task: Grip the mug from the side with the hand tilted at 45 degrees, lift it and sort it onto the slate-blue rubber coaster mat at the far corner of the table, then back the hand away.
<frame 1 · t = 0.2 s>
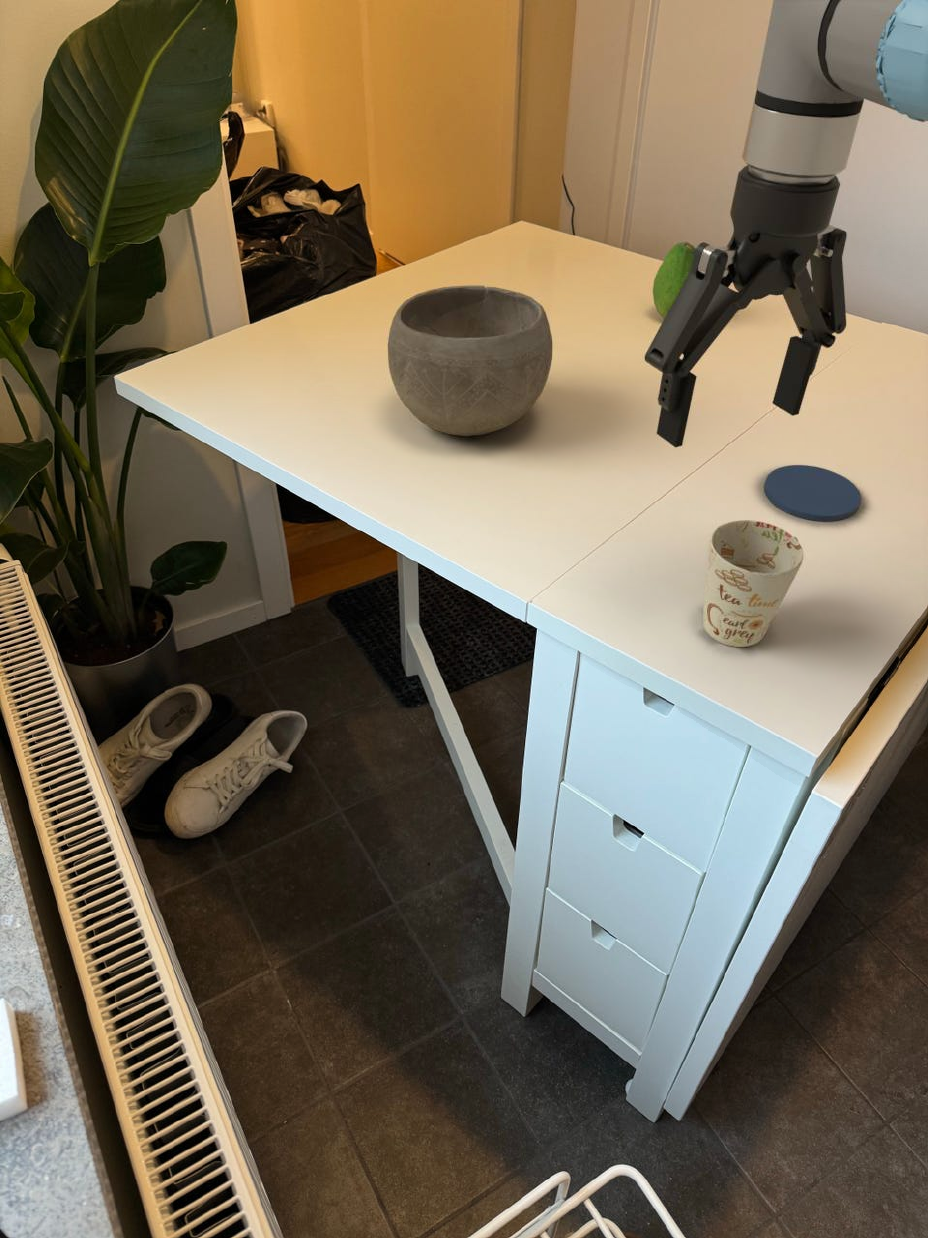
hand: (728, 424, 81), 19 cm above the table, tool pointing down, fingers open, 13 cm apart
mug: (744, 619, 89), on the table
bowl: (468, 420, 119), on the table
coaster: (811, 494, 106), on the table
fruit: (673, 319, 145), on the table
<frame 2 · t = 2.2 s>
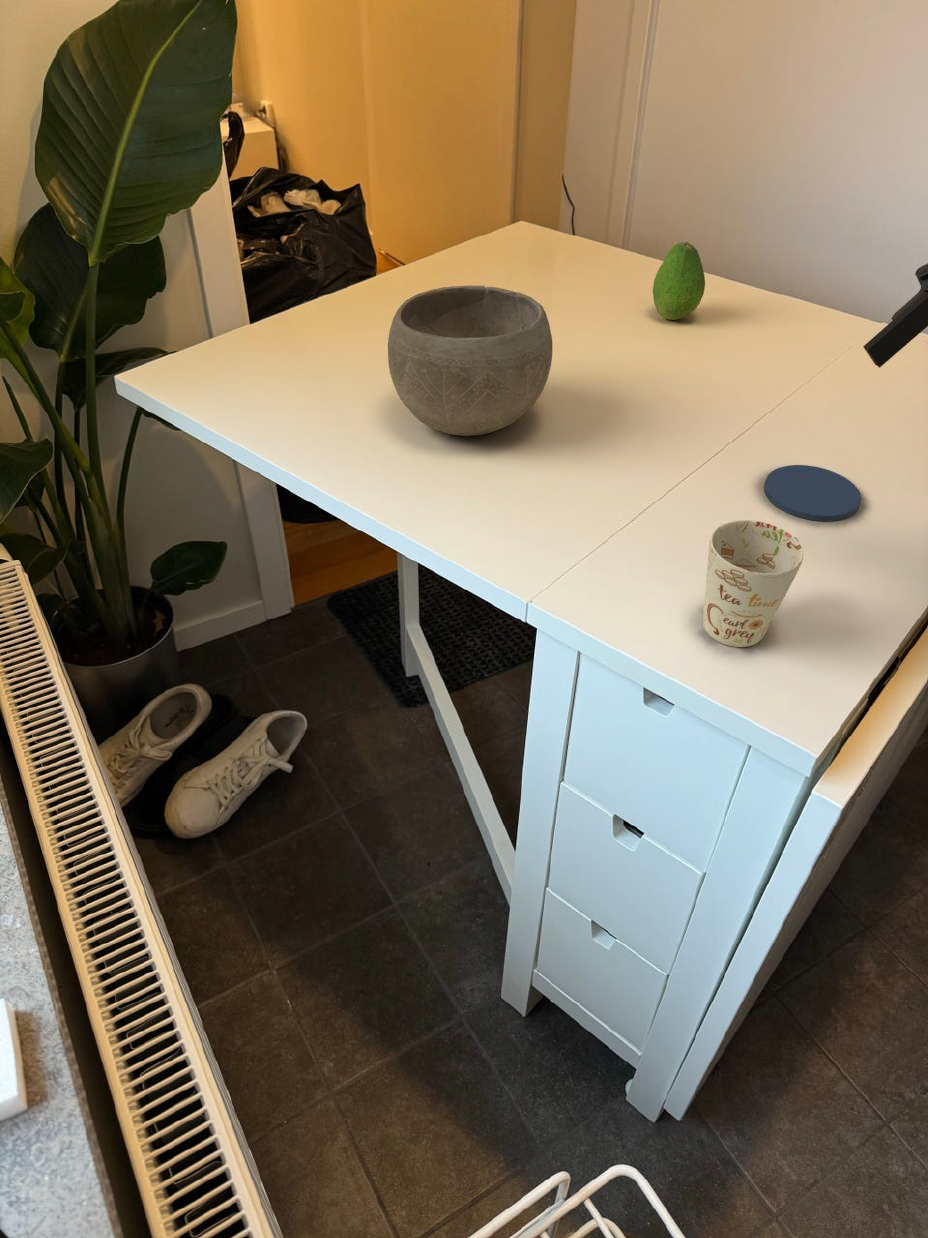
hand: (917, 392, 76), 24 cm above the table, tool tilted 45°, fingers open, 13 cm apart
nothing on the table moved.
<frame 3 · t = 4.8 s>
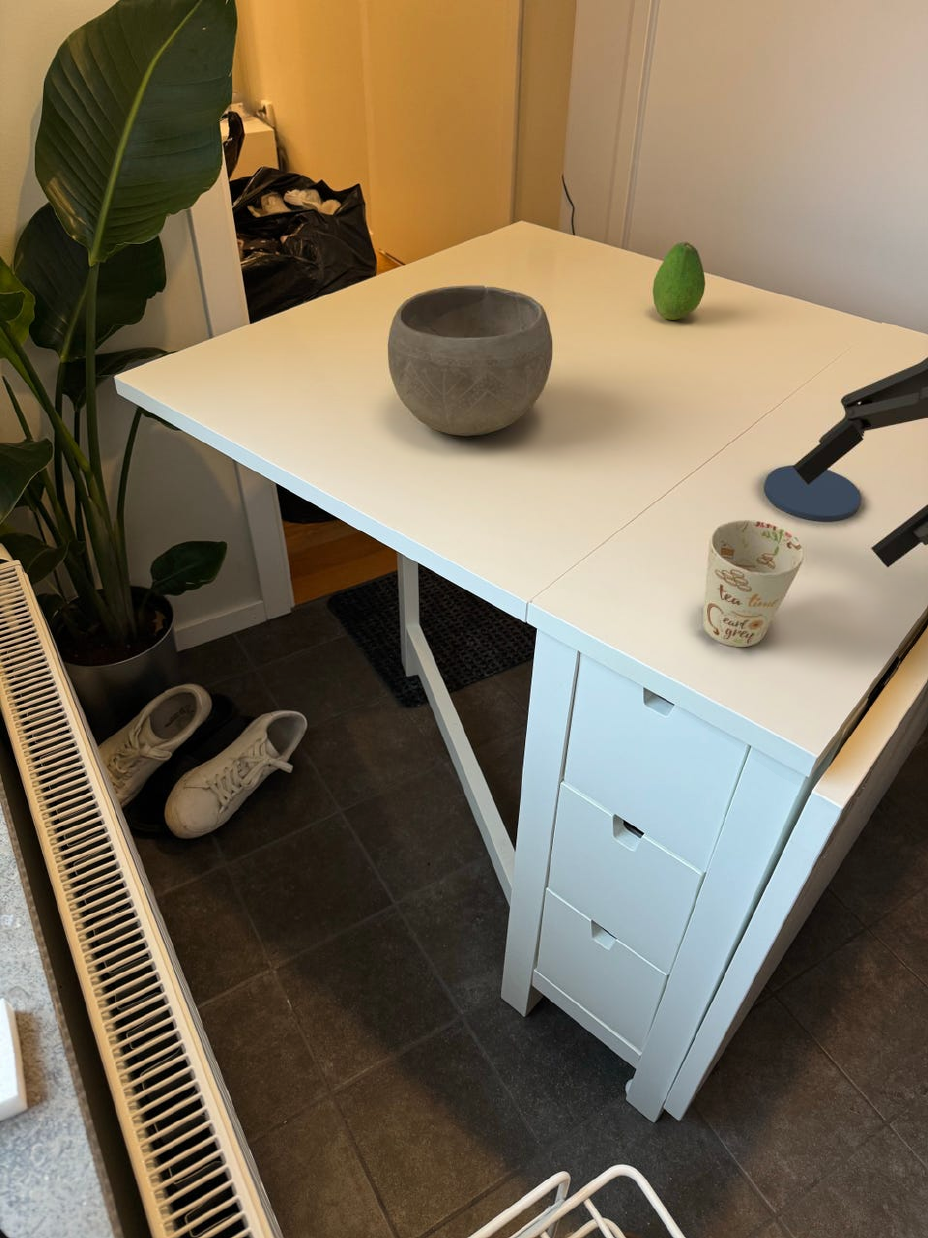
hand: (837, 514, 83), 11 cm above the table, tool tilted 45°, fingers open, 13 cm apart
nothing on the table moved.
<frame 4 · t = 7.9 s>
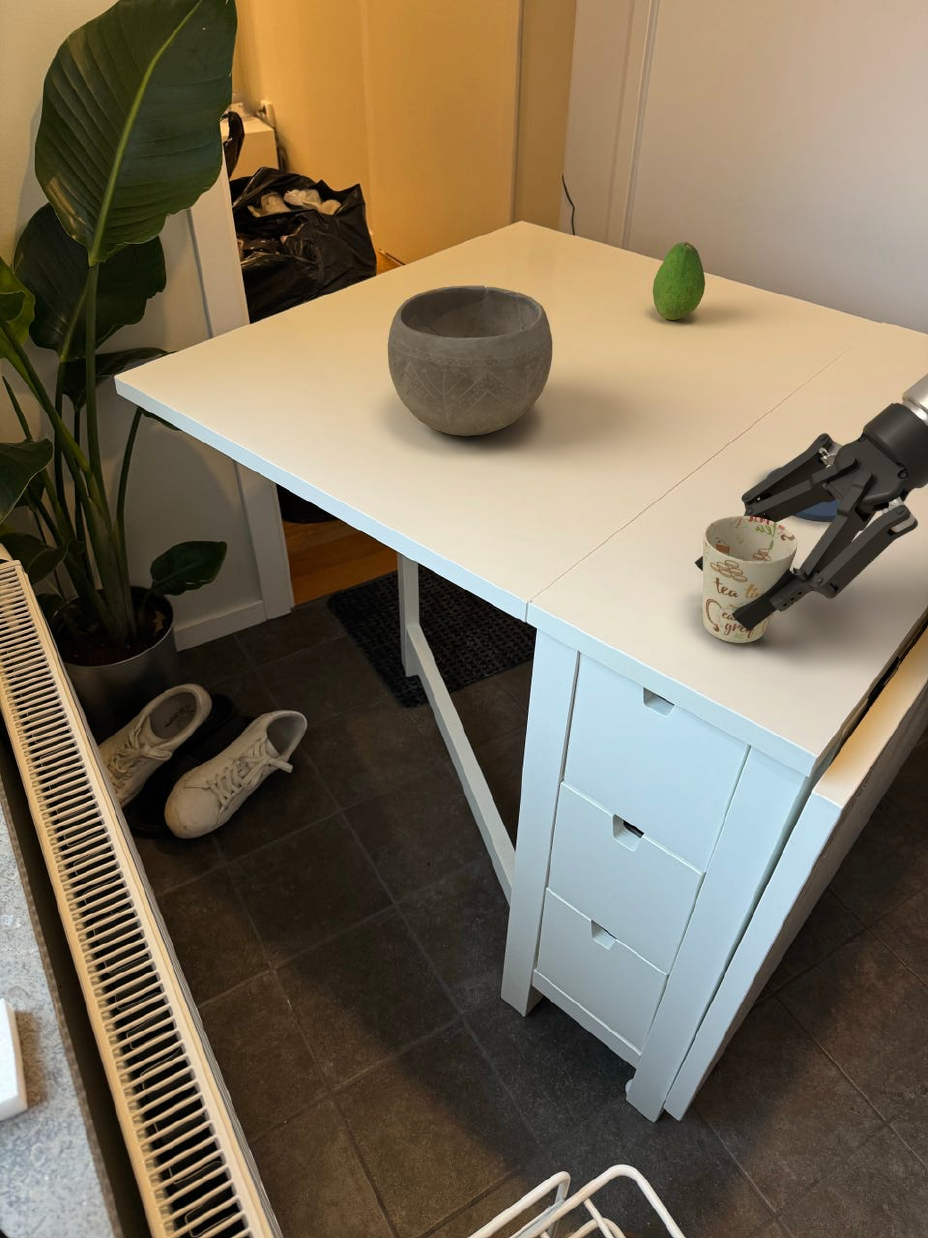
hand: (721, 595, 86), 4 cm above the table, tool tilted 45°, fingers closed on mug, 7 cm apart
mug: (745, 617, 89), on the table, touching gripper
everything else where it was.
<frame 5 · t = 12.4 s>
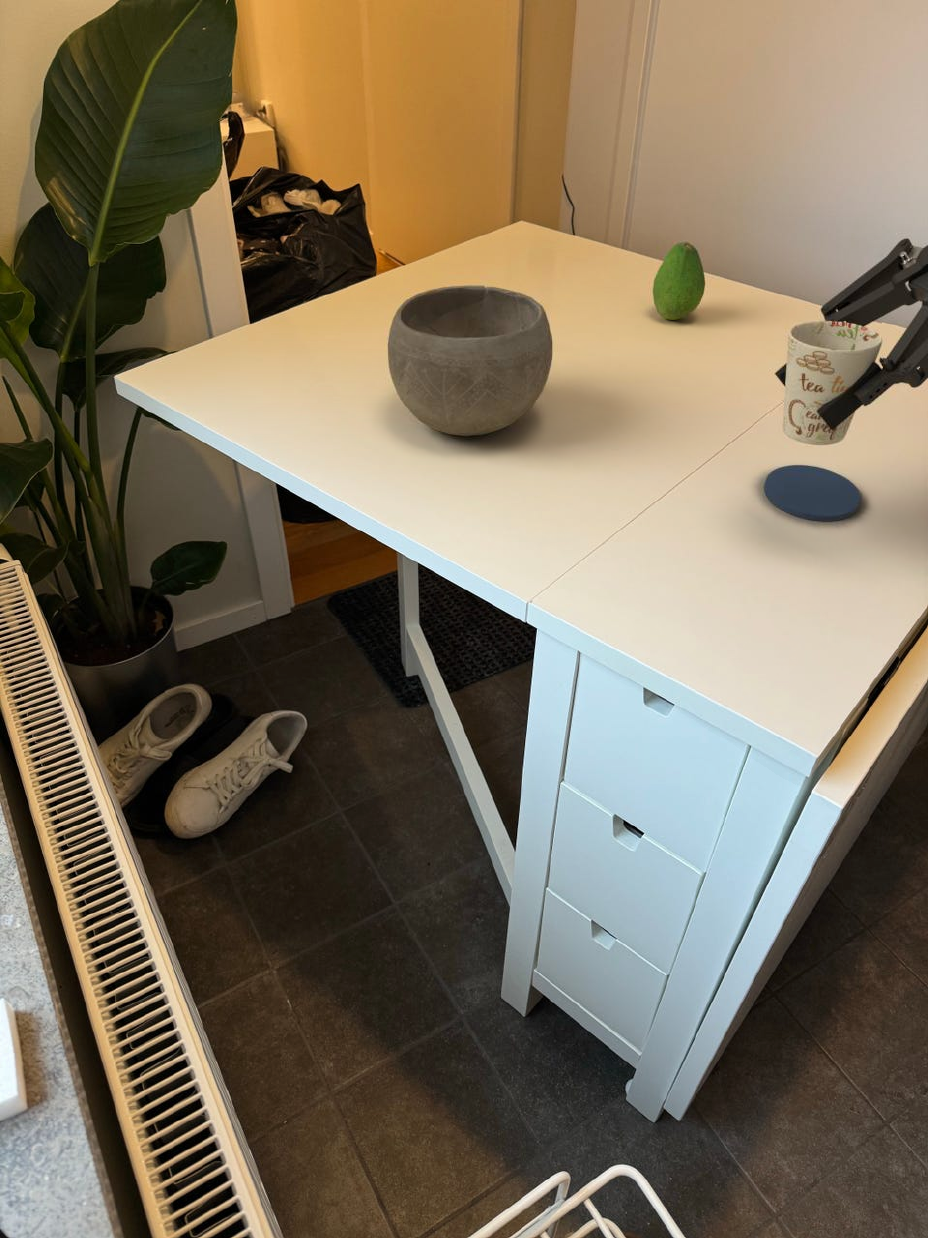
hand: (803, 400, 89), 17 cm above the table, tool tilted 45°, fingers closed on mug, 7 cm apart
mug: (823, 428, 92), point 13 cm above the table, touching gripper
everything else where it was.
when the fingers open (4 cm above the table, at t = 17.3 s): mug stays where it is, resting on coaster.
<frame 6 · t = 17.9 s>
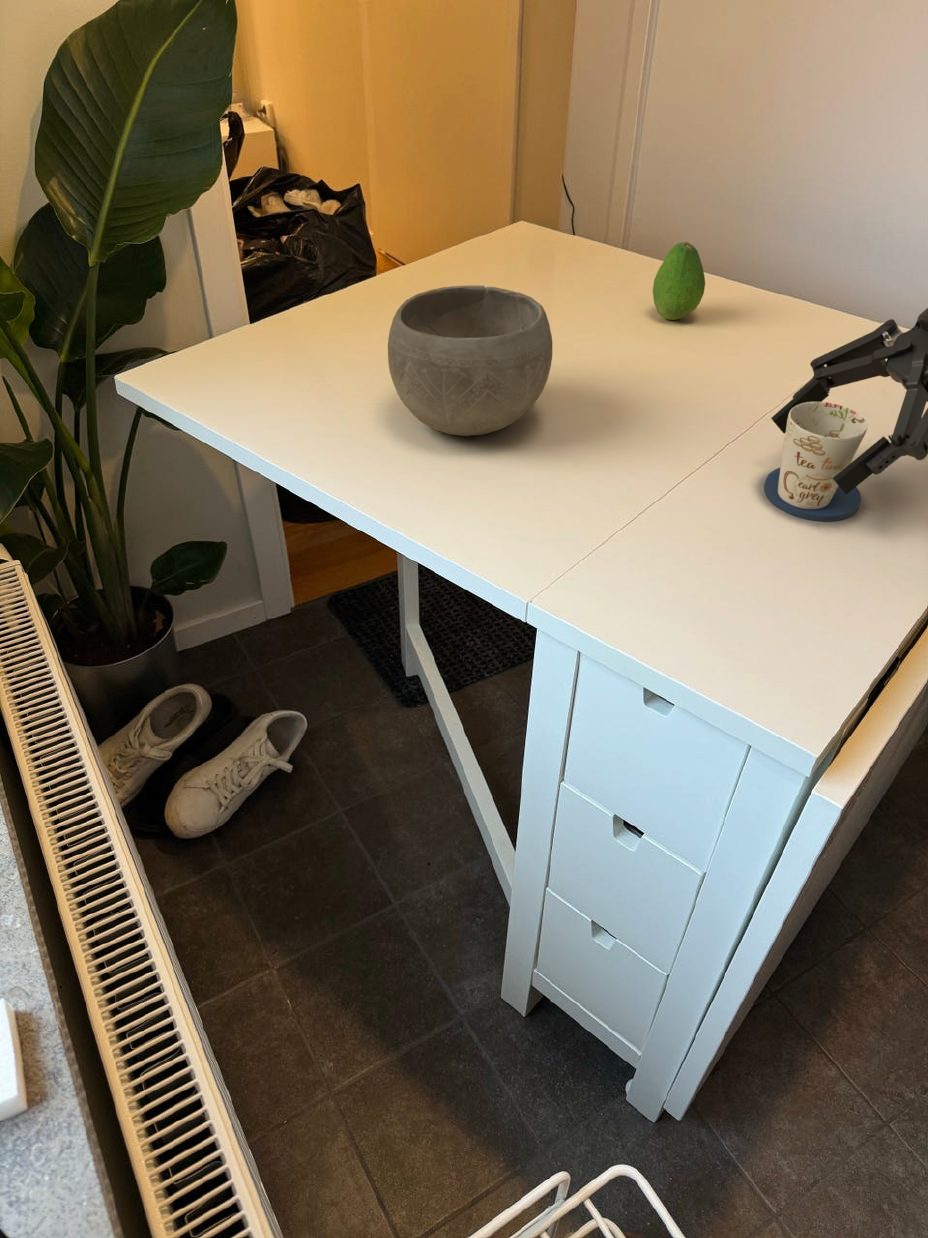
hand: (806, 455, 102), 6 cm above the table, tool tilted 45°, fingers open, 13 cm apart
mug: (812, 490, 106), point 1 cm above the table, touching coaster
everything else where it was.
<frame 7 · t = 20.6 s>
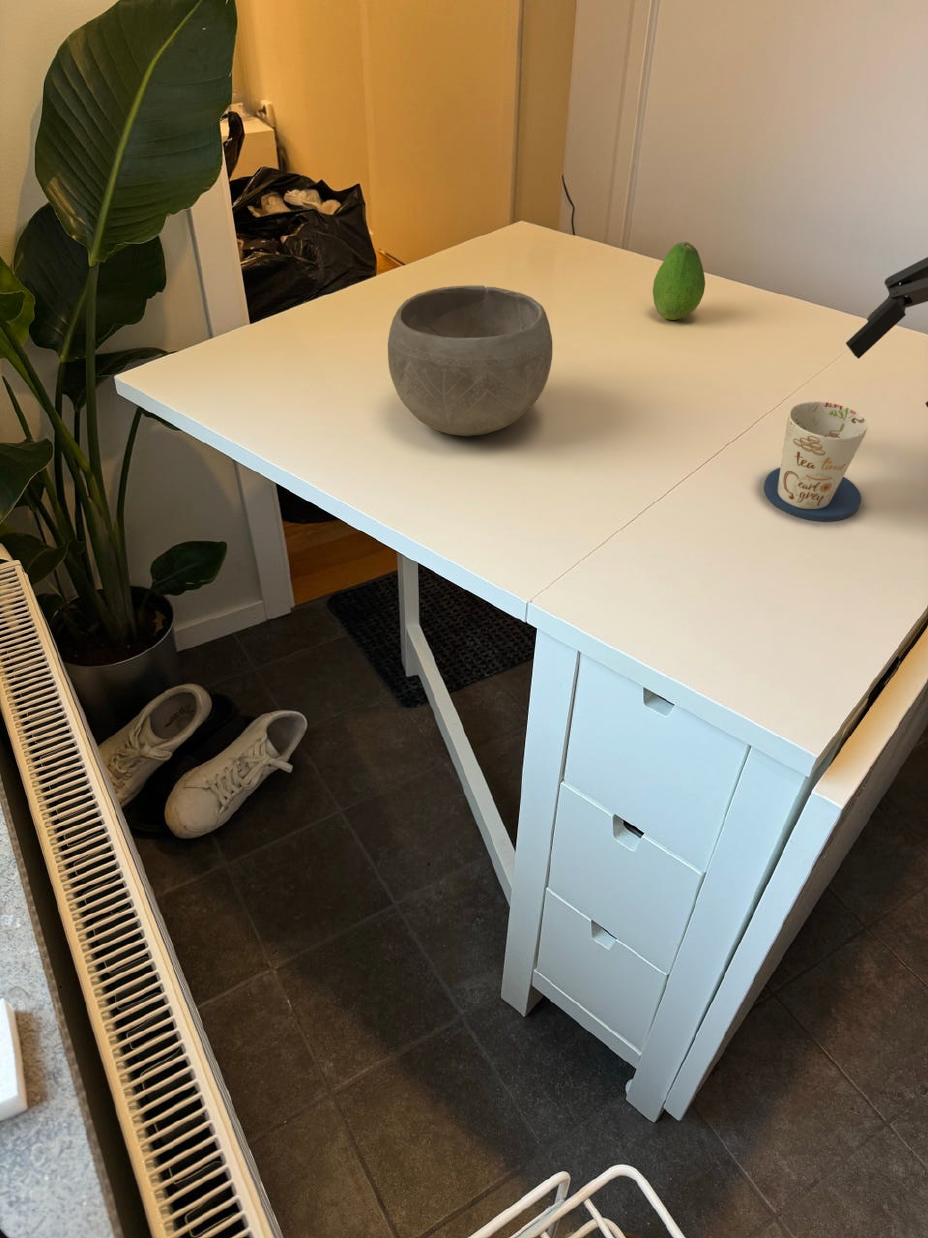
hand: (889, 380, 97), 15 cm above the table, tool tilted 45°, fingers open, 13 cm apart
nothing on the table moved.
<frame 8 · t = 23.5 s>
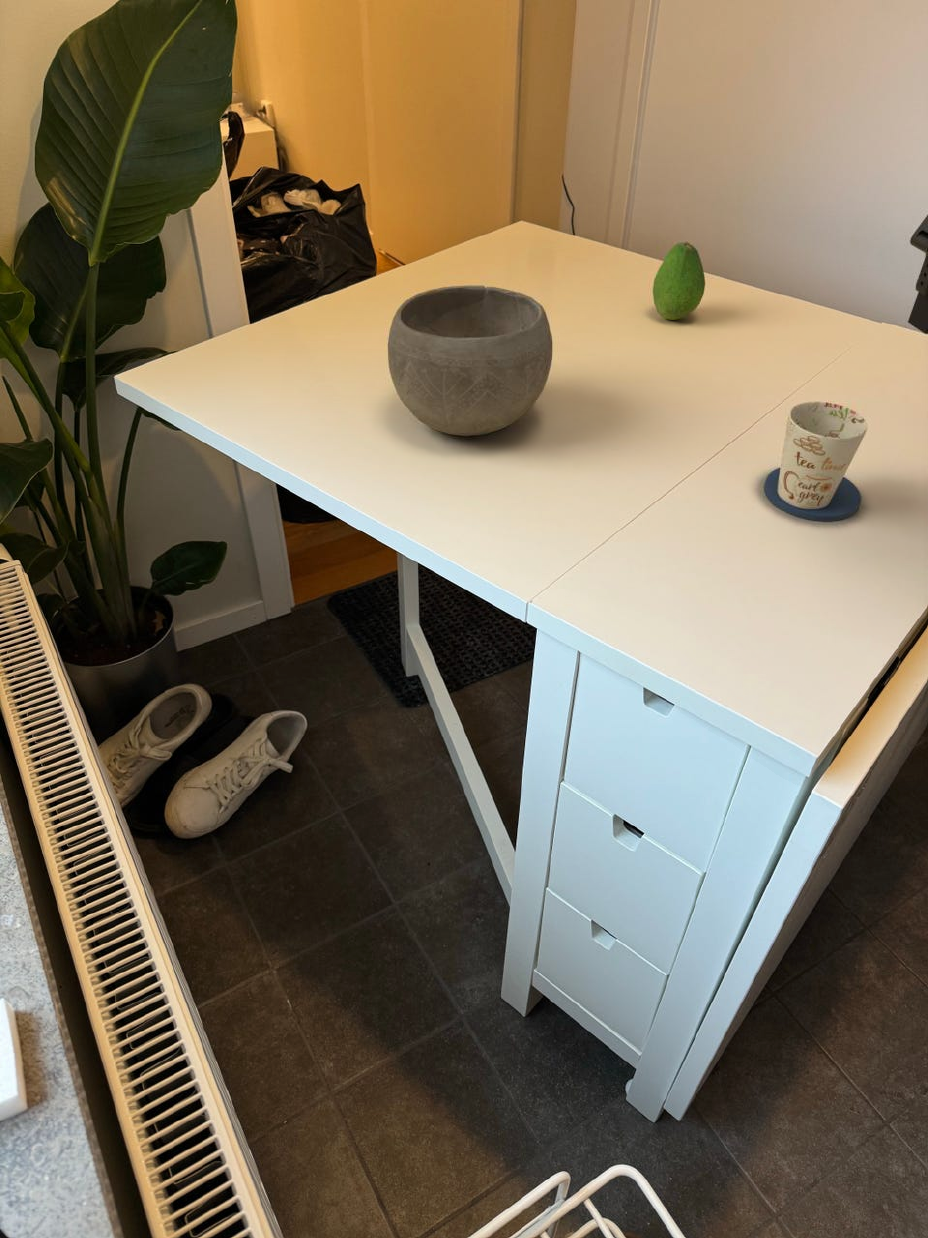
nothing on the table moved.
at the end: mug inside the target area on the coaster (0.0 cm from its centre), point 0.6 cm above the coaster's base; mug tilted 0°; the gripper is holding nothing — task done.
